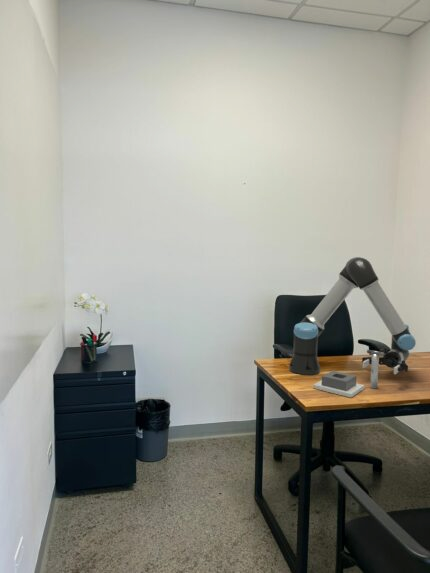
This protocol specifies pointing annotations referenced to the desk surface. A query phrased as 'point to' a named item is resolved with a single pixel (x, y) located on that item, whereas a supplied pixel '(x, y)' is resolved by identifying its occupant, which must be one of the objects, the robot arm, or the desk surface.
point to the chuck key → (374, 367)
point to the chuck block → (339, 384)
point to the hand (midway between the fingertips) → (378, 367)
